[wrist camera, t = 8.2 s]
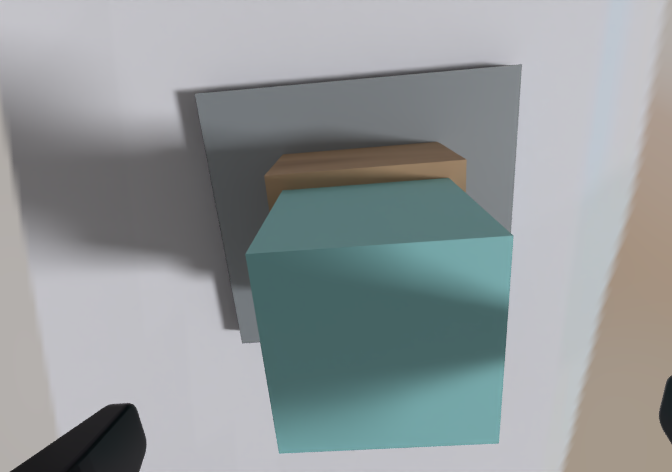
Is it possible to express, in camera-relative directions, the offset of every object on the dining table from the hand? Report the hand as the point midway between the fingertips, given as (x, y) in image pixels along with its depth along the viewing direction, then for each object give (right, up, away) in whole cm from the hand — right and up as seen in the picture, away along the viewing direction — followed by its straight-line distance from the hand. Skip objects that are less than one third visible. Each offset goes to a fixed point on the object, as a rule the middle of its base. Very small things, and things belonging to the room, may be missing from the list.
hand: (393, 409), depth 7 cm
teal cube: (0, +2, +6) cm, 7 cm away
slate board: (0, +4, +11) cm, 12 cm away
